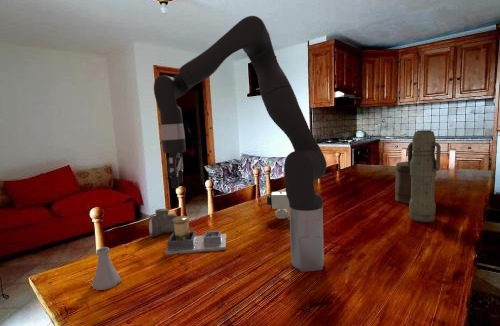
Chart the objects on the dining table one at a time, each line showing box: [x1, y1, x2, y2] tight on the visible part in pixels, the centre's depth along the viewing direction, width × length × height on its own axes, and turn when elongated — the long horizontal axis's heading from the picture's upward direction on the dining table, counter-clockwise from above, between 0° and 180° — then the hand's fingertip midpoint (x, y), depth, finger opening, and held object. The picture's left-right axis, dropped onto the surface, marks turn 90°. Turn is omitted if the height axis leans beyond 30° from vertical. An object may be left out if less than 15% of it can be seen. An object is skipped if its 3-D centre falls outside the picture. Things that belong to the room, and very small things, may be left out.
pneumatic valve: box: [266, 190, 289, 220], centre depth 126 cm, size 6×12×12 cm, turn 78°
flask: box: [92, 246, 122, 291], centre depth 79 cm, size 7×7×10 cm
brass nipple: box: [173, 215, 191, 241], centre depth 101 cm, size 6×6×9 cm
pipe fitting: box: [148, 208, 178, 238], centre depth 115 cm, size 12×8×10 cm
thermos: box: [407, 129, 442, 223], centre depth 114 cm, size 9×12×35 cm
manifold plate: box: [164, 230, 227, 255], centre depth 102 cm, size 12×20×4 cm, turn 94°
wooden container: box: [394, 161, 411, 205], centre depth 140 cm, size 15×15×22 cm
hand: (177, 185), depth 99 cm, fingers open, 8 cm apart
